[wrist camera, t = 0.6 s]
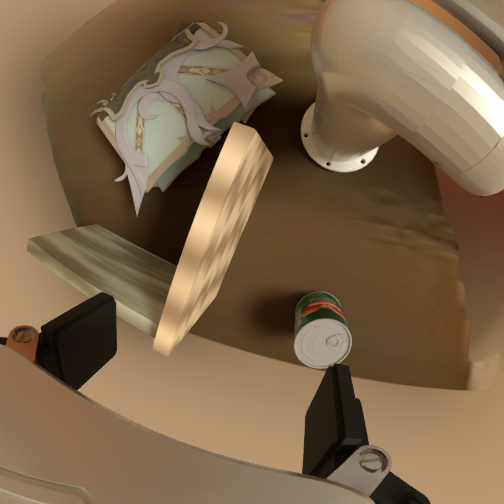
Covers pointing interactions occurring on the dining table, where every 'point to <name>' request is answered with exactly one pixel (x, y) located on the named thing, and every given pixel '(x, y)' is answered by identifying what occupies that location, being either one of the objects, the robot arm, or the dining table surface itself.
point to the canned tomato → (320, 331)
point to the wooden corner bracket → (157, 269)
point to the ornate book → (181, 105)
